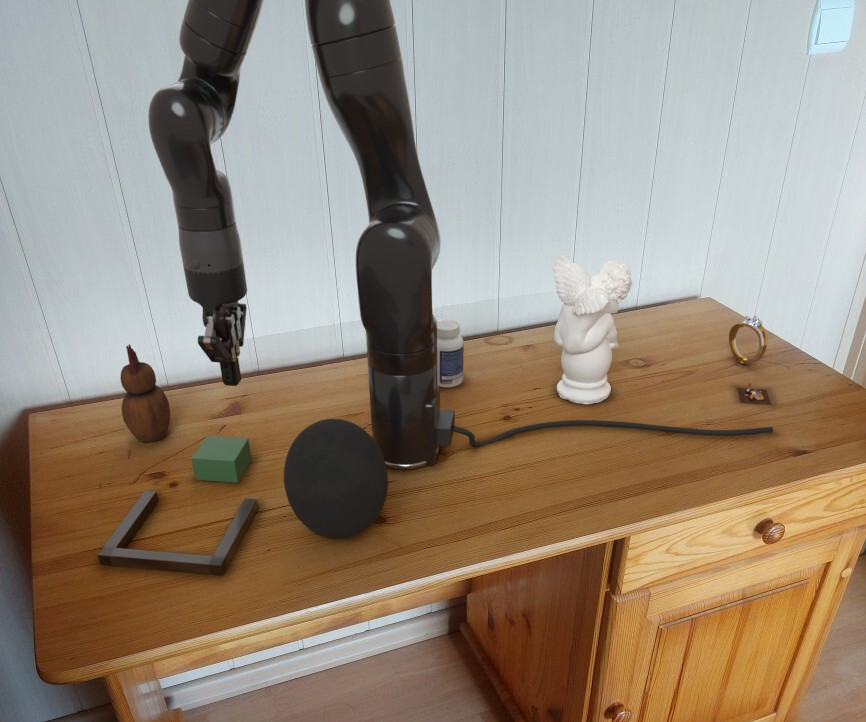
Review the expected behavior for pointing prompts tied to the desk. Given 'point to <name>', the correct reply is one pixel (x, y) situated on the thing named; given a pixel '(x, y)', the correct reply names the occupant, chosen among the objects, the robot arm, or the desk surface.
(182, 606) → the desk surface
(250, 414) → the desk surface
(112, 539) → the frame
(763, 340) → the ring
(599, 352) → the cherub figurine
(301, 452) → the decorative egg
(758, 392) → the diorama
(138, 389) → the wooden figurine
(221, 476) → the green block
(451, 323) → the pill bottle
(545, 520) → the desk surface
